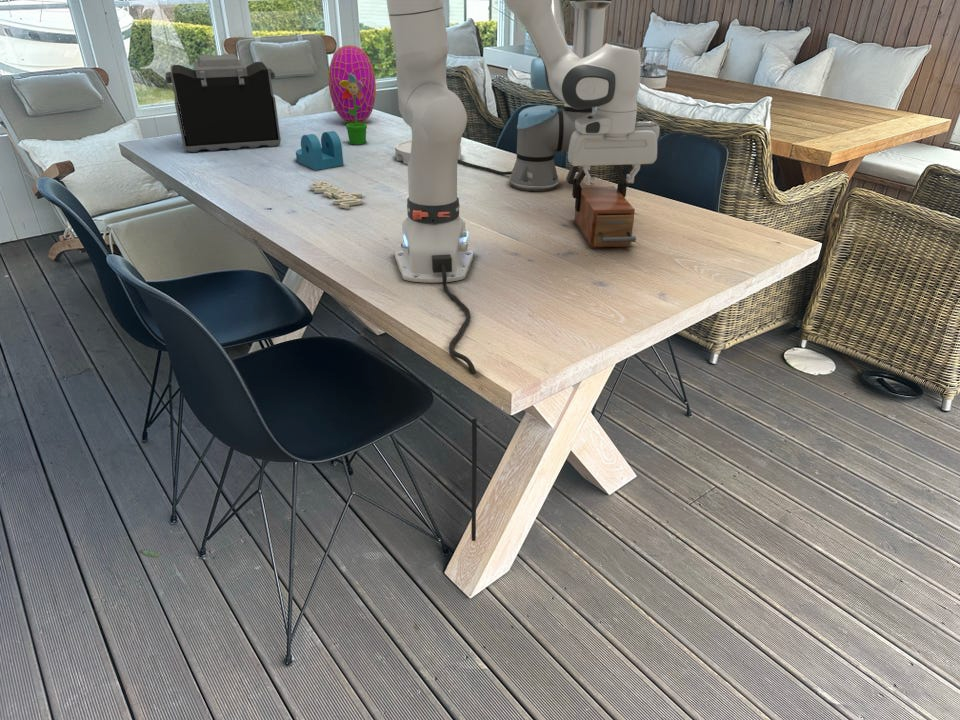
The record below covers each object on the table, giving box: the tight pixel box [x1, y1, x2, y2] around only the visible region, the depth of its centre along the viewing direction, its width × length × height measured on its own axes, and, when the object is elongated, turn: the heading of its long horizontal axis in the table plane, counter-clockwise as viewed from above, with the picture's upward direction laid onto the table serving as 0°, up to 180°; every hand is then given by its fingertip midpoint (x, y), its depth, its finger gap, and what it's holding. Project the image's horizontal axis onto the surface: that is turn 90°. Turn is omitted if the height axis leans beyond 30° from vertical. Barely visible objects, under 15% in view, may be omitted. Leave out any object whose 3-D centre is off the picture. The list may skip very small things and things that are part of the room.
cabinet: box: [573, 185, 636, 248], centre depth 177 cm, size 20×10×10 cm, turn 5°
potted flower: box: [339, 73, 368, 145], centre depth 255 cm, size 9×8×25 cm
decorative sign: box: [310, 180, 363, 210], centre depth 204 cm, size 26×1×10 cm
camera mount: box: [295, 130, 344, 171], centre depth 234 cm, size 18×10×10 cm, turn 39°
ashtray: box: [394, 139, 462, 165], centre depth 243 cm, size 23×23×4 cm
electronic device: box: [164, 53, 282, 153], centre depth 252 cm, size 37×22×30 cm, turn 111°
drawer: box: [594, 214, 637, 248], centre depth 172 cm, size 23×9×8 cm, turn 5°
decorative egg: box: [328, 44, 377, 124], centre depth 286 cm, size 19×19×30 cm
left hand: (609, 183), depth 160 cm, fingers open, 8 cm apart
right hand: (597, 209), depth 182 cm, fingers closed on cabinet, 10 cm apart
